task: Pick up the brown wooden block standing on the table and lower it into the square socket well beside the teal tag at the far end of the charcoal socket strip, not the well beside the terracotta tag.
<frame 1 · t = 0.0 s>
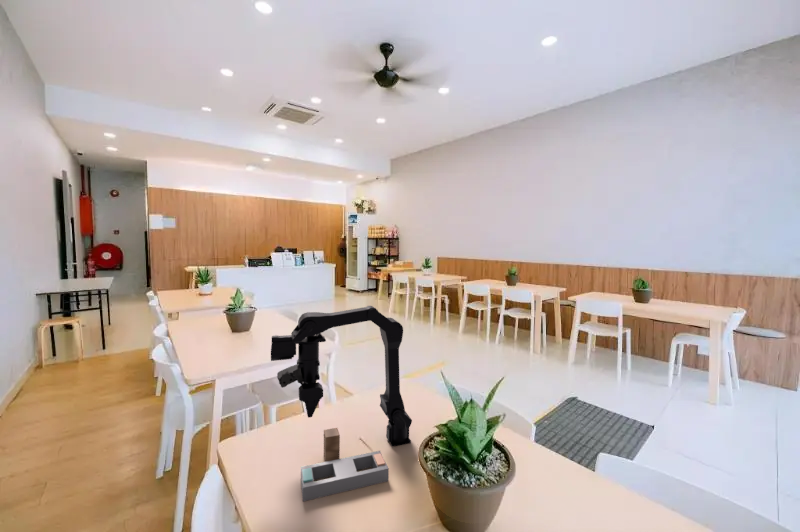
hand: (308, 409, 96), 14 cm above the table, fingers open, 9 cm apart
socket strip: (344, 480, 88), on the table
brown wooden block: (331, 458, 97), on the table
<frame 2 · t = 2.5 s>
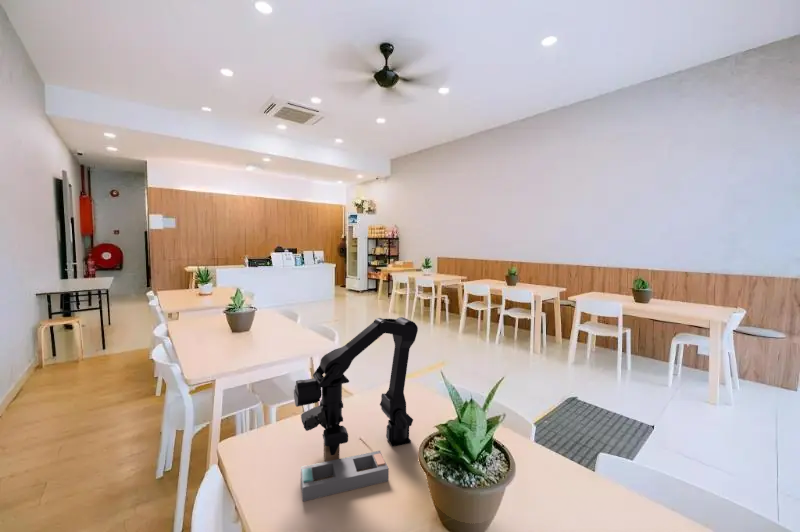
hand: (331, 450, 97), 3 cm above the table, fingers closed on brown wooden block, 4 cm apart
brown wooden block: (331, 458, 97), on the table, touching gripper
when the fingers open (5 cm above the table, at t = 6.2 s): brown wooden block drops 2 cm, resting in socket strip.
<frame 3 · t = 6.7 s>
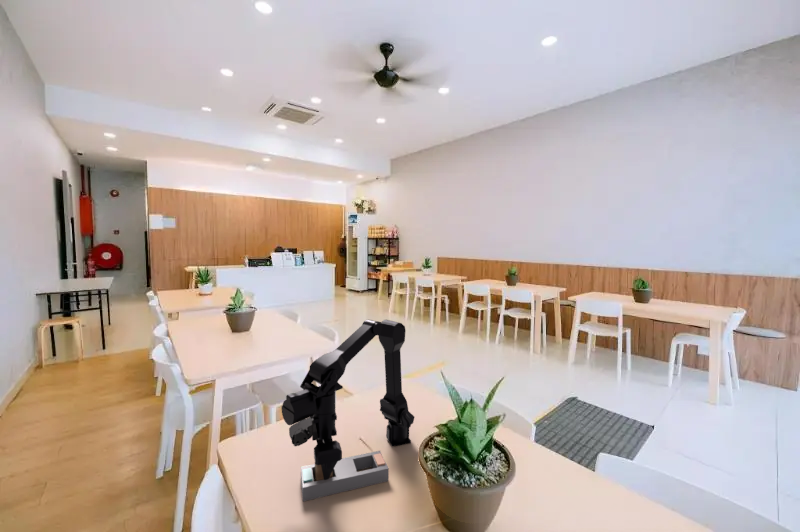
hand: (323, 467, 86), 5 cm above the table, fingers open, 9 cm apart
brown wooden block: (323, 485, 86), resting in socket strip
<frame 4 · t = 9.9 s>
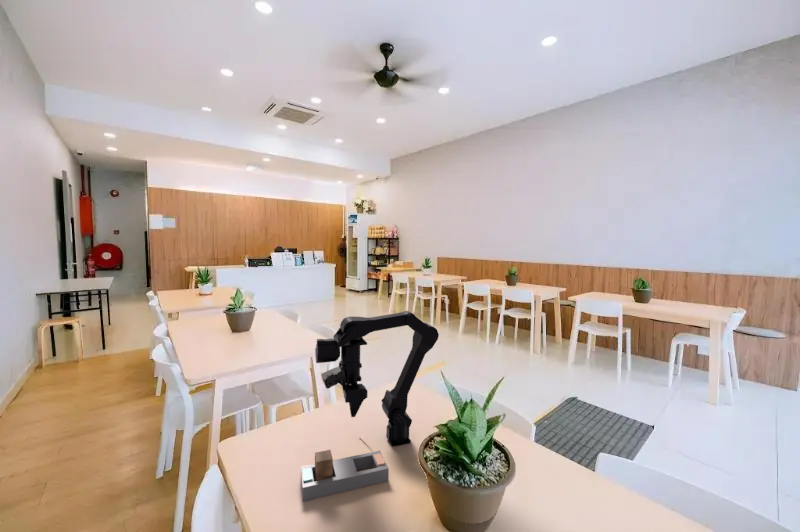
hand: (350, 409, 101), 13 cm above the table, fingers open, 9 cm apart
nothing on the table moved.
at the end: brown wooden block 0.0 cm from the target spot on the socket strip, point 0.0 cm above the socket strip's base; brown wooden block tilted 0°; the gripper is holding nothing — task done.
